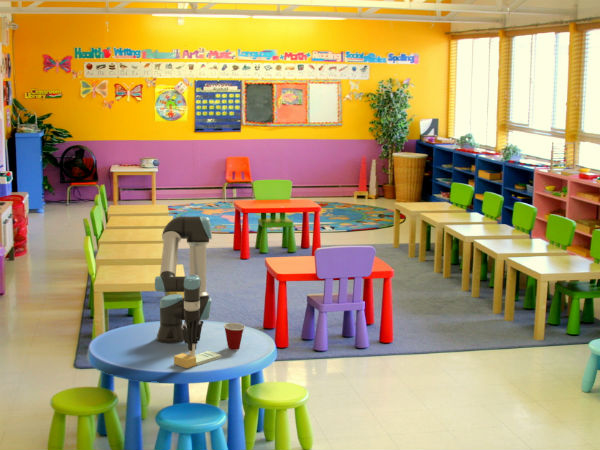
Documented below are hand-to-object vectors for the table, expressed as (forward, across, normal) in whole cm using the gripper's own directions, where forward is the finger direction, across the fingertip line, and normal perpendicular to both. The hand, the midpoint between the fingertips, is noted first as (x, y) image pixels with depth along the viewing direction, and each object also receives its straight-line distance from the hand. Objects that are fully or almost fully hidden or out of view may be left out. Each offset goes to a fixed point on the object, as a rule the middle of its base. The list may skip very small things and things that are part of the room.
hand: (192, 356), depth 390 cm
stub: (+3, -4, 0) cm, 6 cm away
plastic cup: (+3, +30, +1) cm, 30 cm away
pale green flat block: (+3, +7, 0) cm, 8 cm away
